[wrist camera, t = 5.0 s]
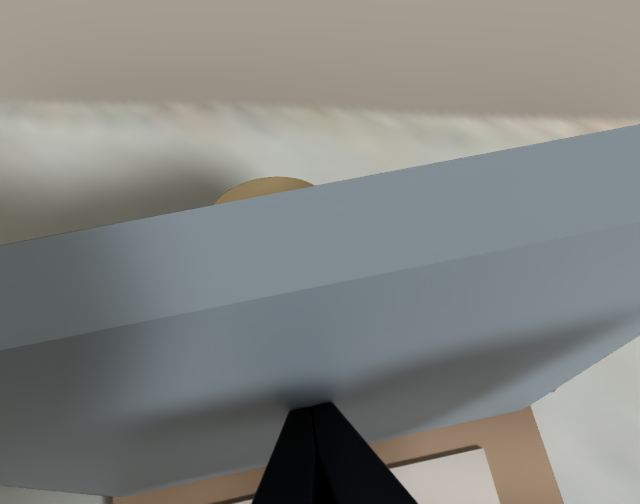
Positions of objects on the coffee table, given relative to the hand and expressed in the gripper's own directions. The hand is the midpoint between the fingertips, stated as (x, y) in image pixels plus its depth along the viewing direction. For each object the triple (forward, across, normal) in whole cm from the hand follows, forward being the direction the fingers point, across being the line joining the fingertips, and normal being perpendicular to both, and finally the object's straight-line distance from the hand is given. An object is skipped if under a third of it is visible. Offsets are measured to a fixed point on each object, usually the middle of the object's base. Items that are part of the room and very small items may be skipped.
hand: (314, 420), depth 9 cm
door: (+5, 0, +5) cm, 7 cm away
